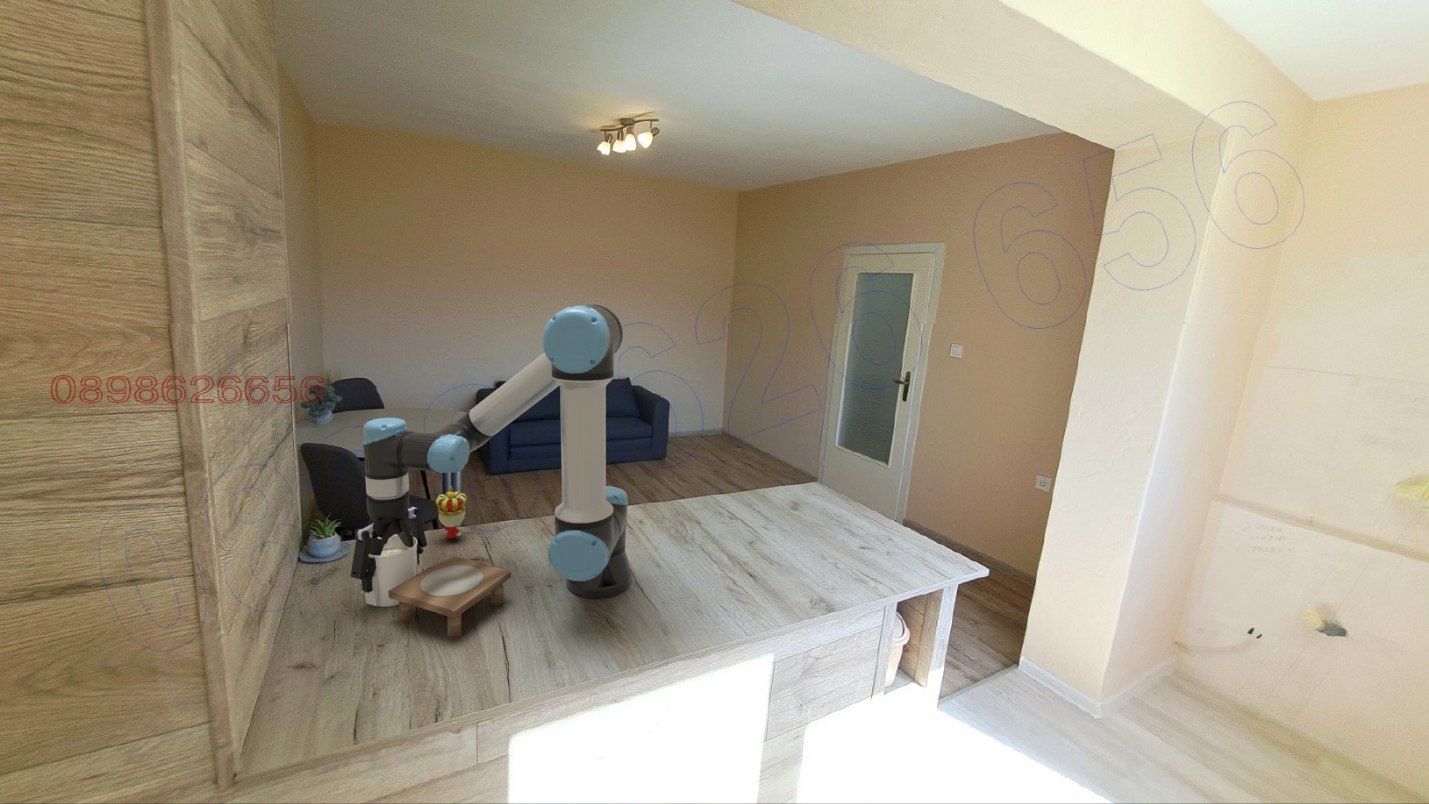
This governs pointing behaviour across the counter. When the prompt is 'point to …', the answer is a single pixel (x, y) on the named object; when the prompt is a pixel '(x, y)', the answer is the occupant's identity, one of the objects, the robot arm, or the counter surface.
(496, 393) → the robot arm
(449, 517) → the toy
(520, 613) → the counter surface
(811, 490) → the counter surface
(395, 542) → the candle holder
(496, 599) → the footstool
